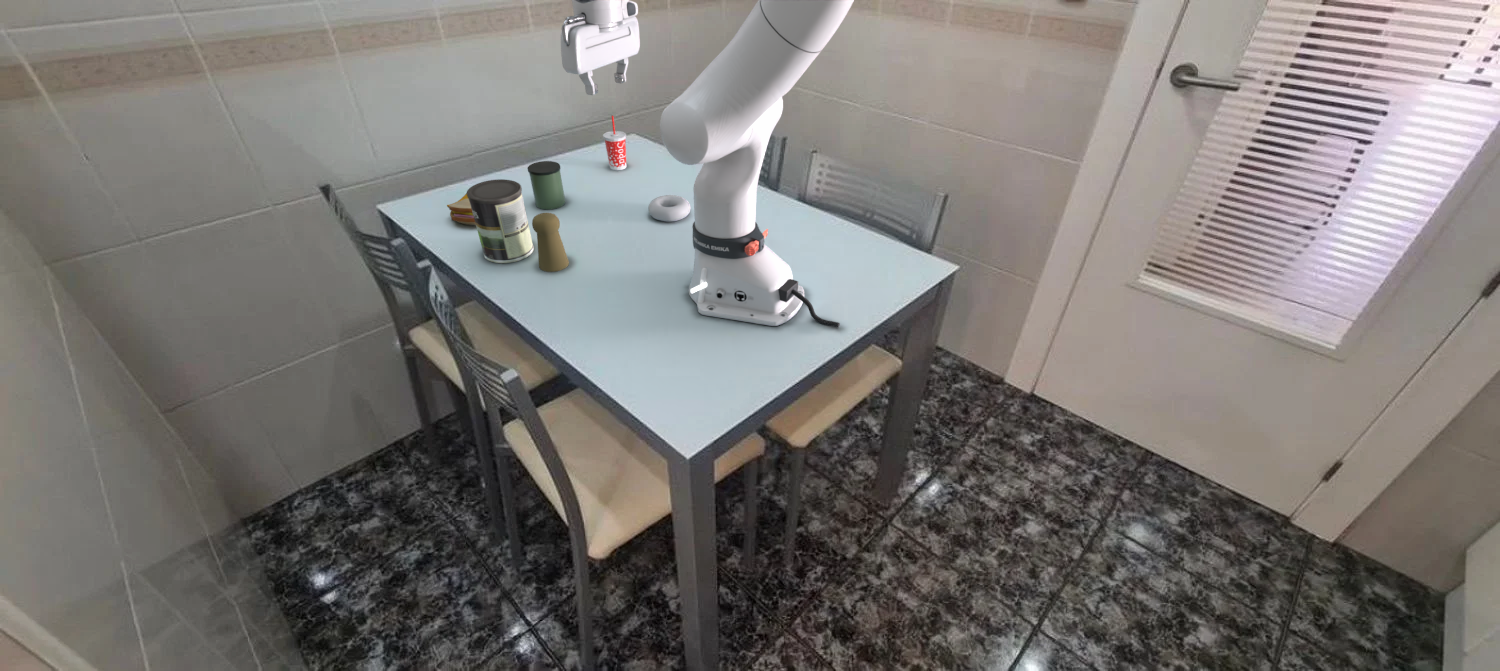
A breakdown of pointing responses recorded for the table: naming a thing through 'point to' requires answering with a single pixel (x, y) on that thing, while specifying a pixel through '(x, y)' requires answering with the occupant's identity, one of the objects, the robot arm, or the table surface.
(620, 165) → the beverage cup
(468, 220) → the toy sandwich meal
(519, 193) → the coffee can
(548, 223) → the cork
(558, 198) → the olive tin
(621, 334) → the table surface
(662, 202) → the donut
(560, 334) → the table surface
